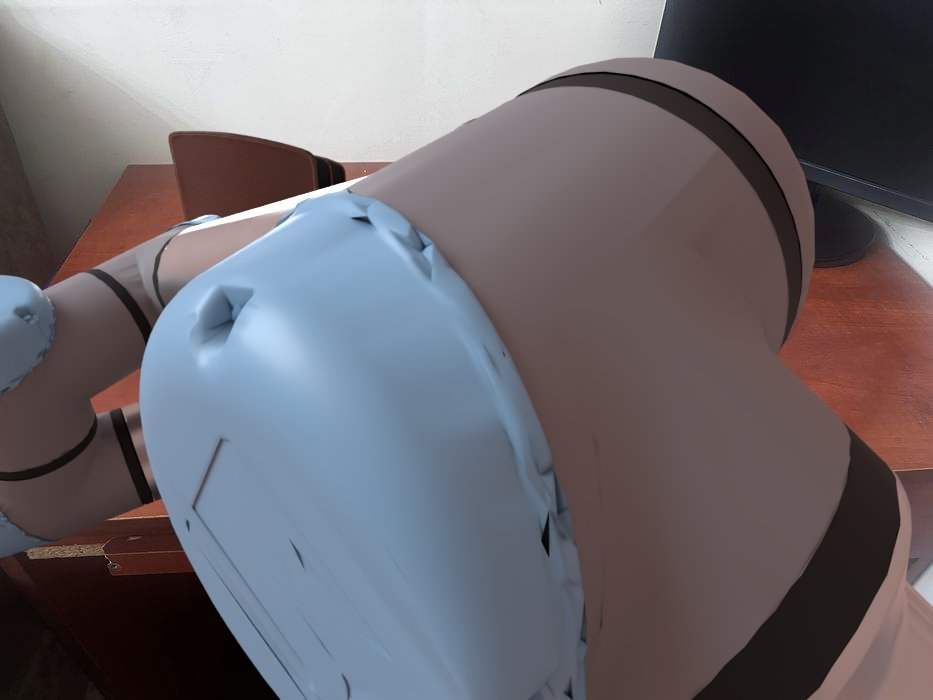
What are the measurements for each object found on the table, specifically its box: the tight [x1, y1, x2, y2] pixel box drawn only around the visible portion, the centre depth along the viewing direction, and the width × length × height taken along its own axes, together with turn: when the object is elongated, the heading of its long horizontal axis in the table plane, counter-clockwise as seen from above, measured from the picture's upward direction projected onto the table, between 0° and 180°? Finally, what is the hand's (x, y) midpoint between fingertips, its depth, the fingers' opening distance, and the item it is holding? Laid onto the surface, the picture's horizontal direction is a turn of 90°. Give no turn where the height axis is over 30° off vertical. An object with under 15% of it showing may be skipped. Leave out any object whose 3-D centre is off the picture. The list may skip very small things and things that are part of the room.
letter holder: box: [167, 130, 347, 222], centre depth 93 cm, size 10×20×14 cm, turn 77°
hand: (455, 342), depth 64 cm, fingers closed on supplement box, 5 cm apart
